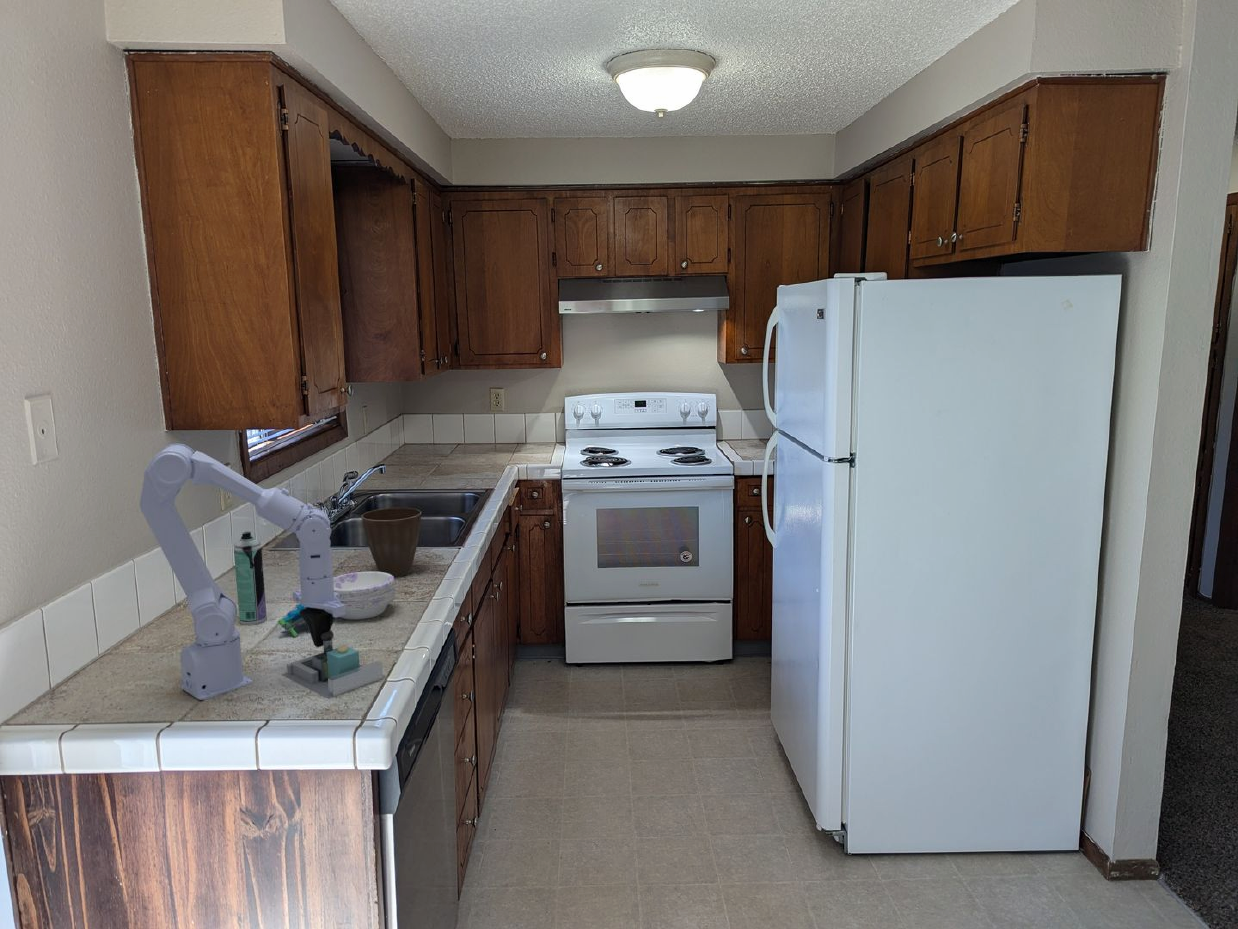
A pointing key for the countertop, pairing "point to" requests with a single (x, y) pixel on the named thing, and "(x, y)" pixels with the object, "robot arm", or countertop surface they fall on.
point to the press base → (336, 684)
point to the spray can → (250, 580)
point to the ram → (323, 655)
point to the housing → (342, 660)
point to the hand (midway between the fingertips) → (321, 645)
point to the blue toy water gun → (292, 619)
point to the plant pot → (392, 538)
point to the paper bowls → (364, 593)
